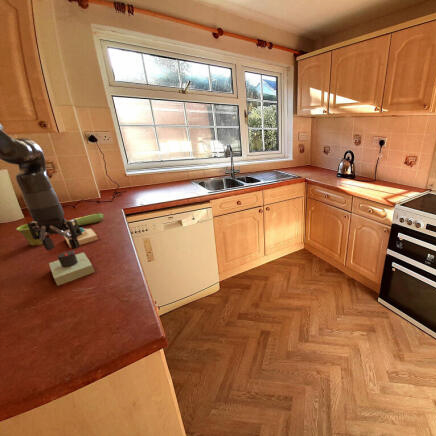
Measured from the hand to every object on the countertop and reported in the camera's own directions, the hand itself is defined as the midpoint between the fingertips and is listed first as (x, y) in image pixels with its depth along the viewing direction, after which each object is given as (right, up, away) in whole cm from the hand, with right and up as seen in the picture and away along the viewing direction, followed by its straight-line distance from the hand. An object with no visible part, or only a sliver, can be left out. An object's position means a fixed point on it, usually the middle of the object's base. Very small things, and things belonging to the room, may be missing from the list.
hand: (63, 248), depth 83 cm
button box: (-17, +1, +27) cm, 32 cm away
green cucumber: (-31, +7, +43) cm, 53 cm away
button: (-18, +4, +26) cm, 32 cm away
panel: (0, -8, +3) cm, 9 cm away
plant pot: (-34, -1, +25) cm, 43 cm away
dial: (0, -6, +2) cm, 6 cm away
